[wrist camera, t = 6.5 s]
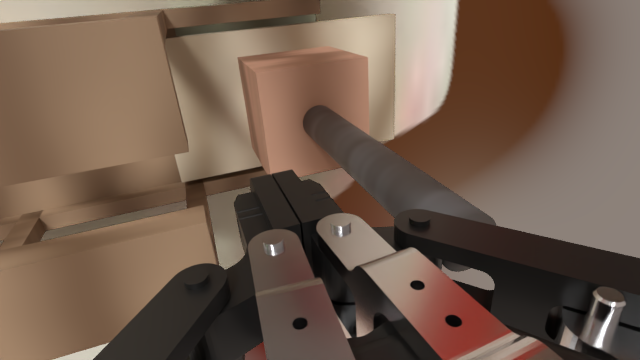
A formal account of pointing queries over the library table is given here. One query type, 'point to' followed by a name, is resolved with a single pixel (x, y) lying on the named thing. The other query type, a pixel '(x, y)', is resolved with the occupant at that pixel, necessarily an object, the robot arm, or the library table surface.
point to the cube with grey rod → (302, 108)
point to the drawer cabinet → (101, 169)
